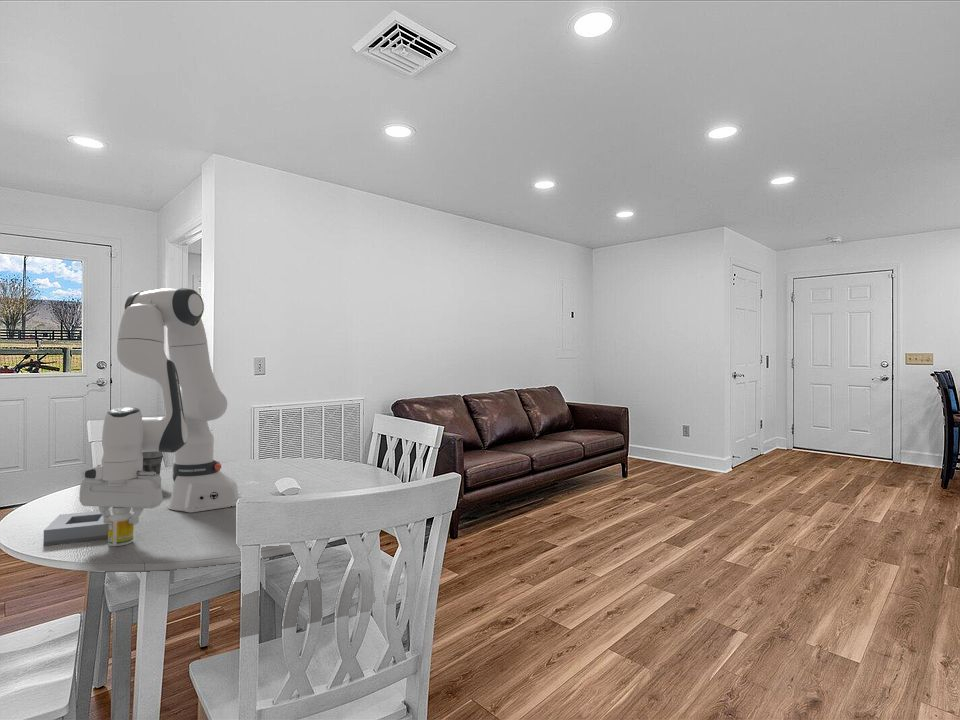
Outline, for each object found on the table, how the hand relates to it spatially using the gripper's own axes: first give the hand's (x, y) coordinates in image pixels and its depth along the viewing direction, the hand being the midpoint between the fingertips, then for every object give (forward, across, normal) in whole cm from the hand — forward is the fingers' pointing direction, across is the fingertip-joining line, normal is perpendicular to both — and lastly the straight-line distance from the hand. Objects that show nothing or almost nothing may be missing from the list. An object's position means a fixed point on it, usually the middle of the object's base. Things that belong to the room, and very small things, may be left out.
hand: (121, 523), depth 132 cm
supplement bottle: (+5, 0, 0) cm, 5 cm away
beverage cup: (+5, +30, -51) cm, 59 cm away
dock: (+5, +15, -5) cm, 16 cm away
